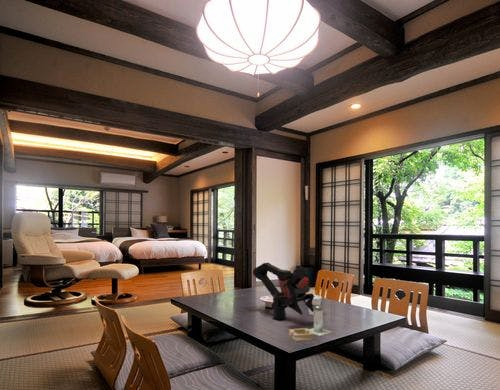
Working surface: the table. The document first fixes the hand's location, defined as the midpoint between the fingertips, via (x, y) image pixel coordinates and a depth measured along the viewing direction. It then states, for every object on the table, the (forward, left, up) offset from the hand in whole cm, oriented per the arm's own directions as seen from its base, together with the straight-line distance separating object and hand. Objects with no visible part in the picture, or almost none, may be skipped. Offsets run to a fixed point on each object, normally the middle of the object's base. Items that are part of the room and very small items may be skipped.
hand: (307, 313), depth 179 cm
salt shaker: (+7, -2, -8) cm, 11 cm away
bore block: (+4, -15, -8) cm, 18 cm away
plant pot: (-43, +56, -9) cm, 71 cm away
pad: (+7, -2, -8) cm, 11 cm away
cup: (-11, +28, -9) cm, 31 cm away
